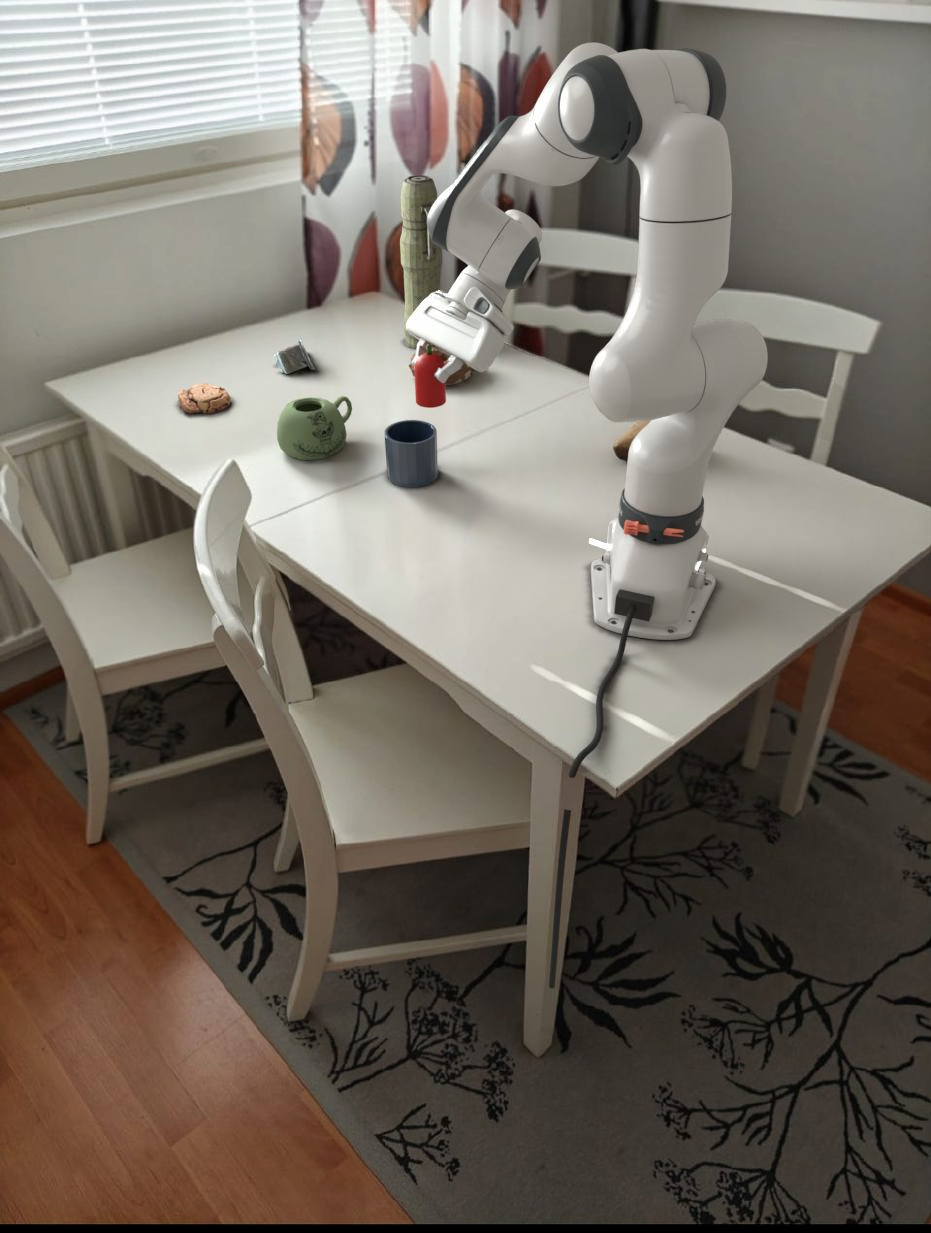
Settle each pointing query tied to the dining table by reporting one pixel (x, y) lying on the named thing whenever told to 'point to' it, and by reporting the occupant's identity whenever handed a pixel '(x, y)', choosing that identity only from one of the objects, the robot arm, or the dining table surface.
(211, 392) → the cookie
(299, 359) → the grey blocky piece
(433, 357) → the pepper
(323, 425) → the mug
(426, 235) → the thermos
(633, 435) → the vegetable
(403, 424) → the cup
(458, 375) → the donut
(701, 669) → the dining table surface
